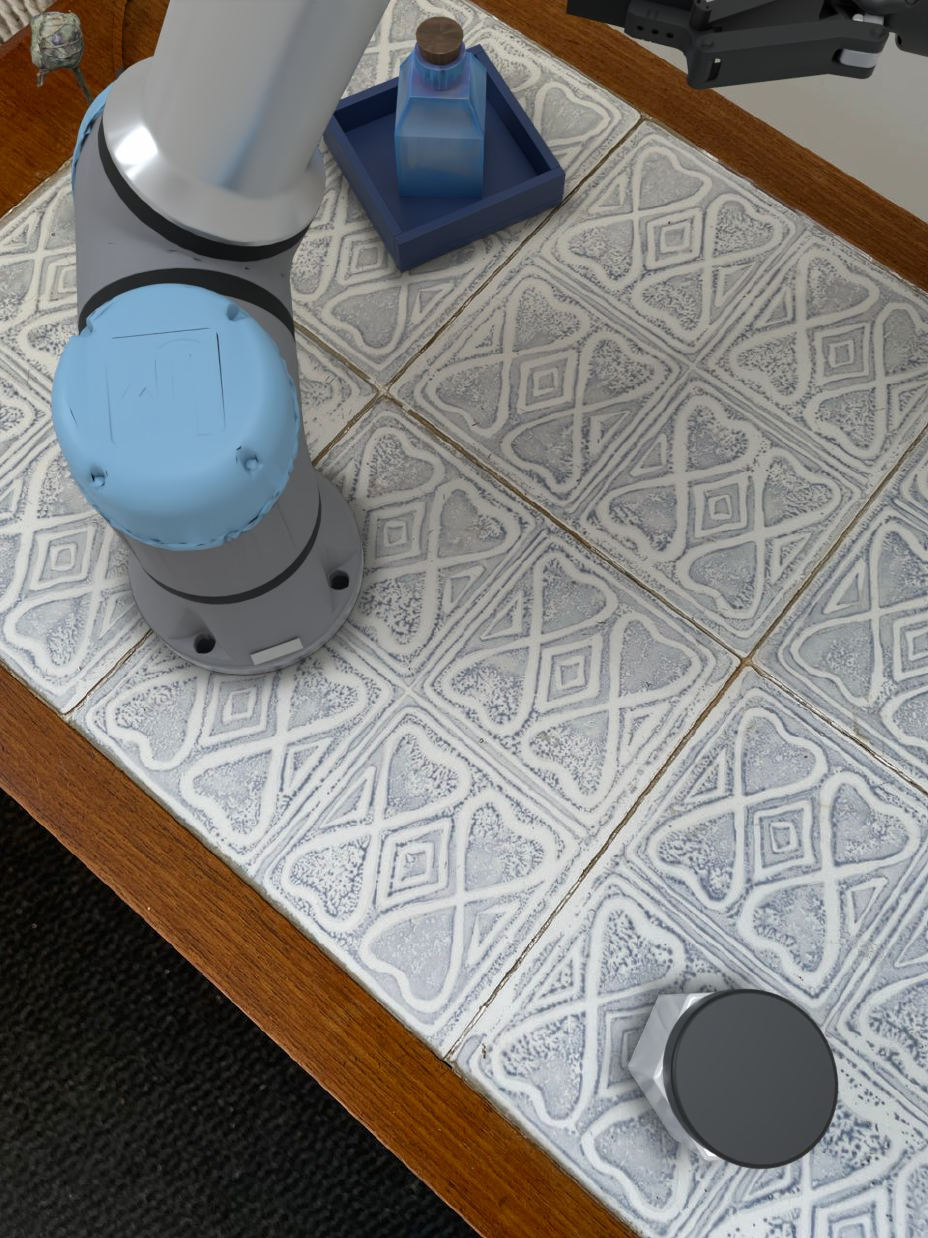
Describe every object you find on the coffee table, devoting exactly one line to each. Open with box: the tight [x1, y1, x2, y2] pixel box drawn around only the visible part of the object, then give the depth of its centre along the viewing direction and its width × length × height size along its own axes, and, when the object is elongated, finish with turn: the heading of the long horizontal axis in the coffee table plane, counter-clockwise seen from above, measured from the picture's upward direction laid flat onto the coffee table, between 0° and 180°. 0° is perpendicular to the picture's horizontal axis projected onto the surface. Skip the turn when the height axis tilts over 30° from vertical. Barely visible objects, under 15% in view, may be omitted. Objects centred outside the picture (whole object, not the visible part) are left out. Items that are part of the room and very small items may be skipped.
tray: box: [322, 43, 567, 273], centre depth 84 cm, size 14×14×3 cm
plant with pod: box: [29, 11, 116, 222], centre depth 75 cm, size 8×11×20 cm
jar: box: [627, 988, 839, 1170], centre depth 60 cm, size 9×8×12 cm
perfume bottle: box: [395, 15, 487, 199], centre depth 79 cm, size 6×6×12 cm
